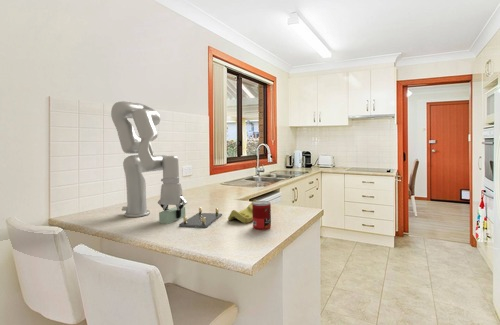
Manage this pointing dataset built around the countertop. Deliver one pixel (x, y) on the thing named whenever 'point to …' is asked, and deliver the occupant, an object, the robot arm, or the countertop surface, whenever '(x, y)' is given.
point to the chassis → (200, 219)
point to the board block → (170, 215)
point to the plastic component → (243, 214)
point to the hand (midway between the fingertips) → (172, 217)
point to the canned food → (261, 215)
